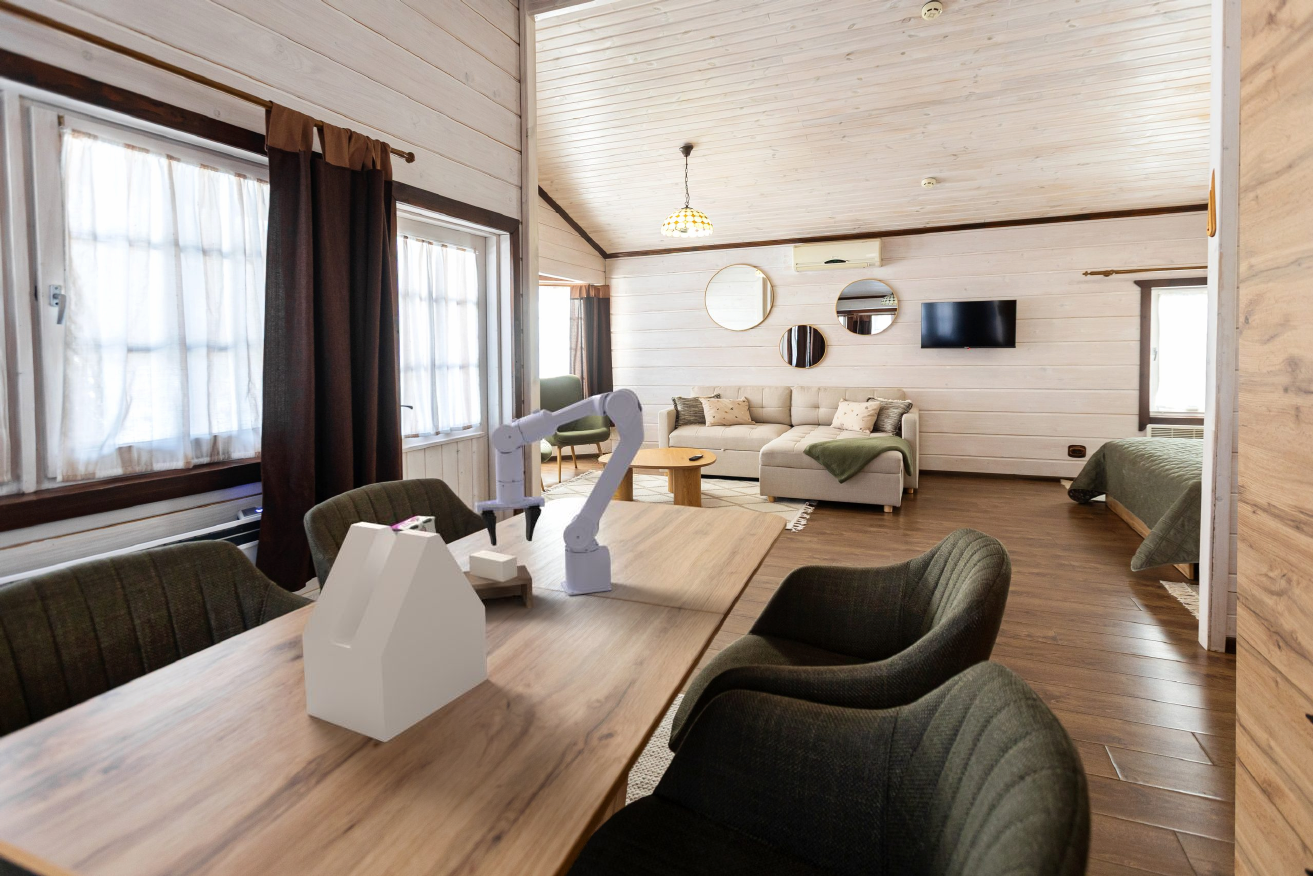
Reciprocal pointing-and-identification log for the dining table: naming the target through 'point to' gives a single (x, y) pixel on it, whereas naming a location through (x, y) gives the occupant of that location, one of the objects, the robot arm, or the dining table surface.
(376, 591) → the white tapered slotted holder
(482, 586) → the cubby
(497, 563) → the block
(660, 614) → the dining table surface
